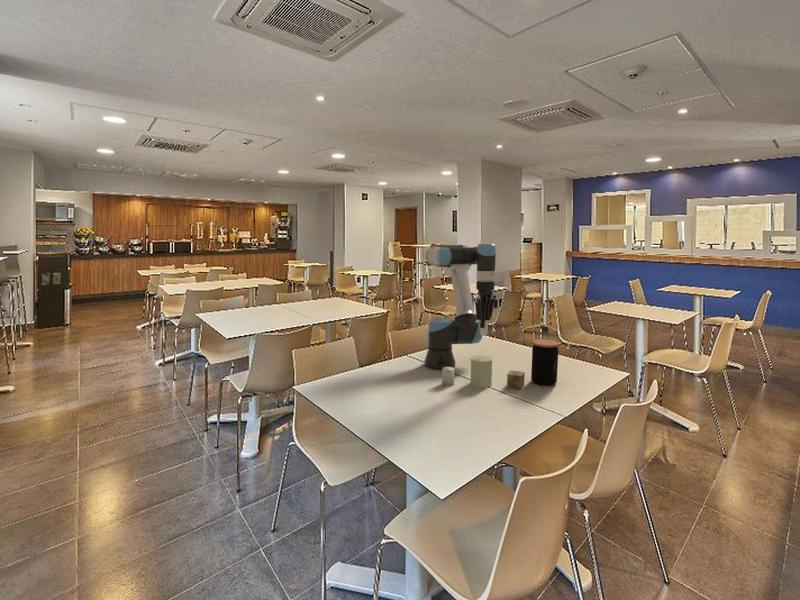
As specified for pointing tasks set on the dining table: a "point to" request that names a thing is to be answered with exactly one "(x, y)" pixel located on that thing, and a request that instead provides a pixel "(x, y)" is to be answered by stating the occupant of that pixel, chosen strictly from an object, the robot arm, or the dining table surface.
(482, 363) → the can
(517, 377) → the walnut block
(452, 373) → the grey cylinder
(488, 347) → the dining table surface
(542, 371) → the coffee jar
